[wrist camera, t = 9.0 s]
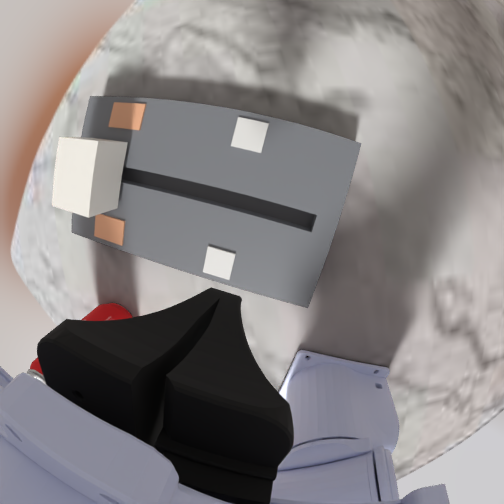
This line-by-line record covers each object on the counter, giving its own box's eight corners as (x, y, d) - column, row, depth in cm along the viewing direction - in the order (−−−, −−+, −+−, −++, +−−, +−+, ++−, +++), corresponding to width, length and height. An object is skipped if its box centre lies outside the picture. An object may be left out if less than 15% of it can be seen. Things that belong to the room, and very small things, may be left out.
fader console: (354, 145, 18) (361, 143, 16) (307, 295, 22) (307, 309, 20) (103, 99, 19) (89, 96, 17) (85, 227, 23) (70, 232, 21)
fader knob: (137, 143, 19) (98, 141, 14) (127, 205, 20) (88, 217, 16) (99, 138, 19) (59, 136, 14) (91, 195, 21) (52, 205, 16)
